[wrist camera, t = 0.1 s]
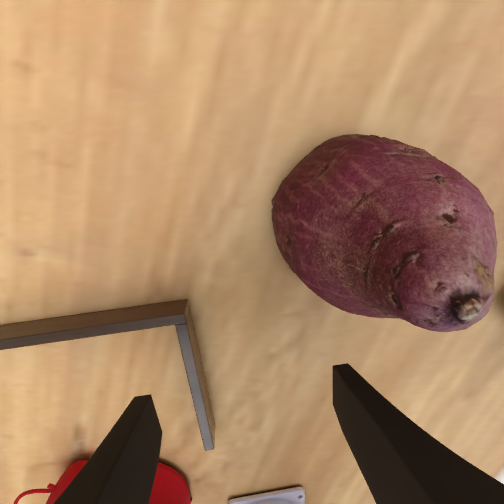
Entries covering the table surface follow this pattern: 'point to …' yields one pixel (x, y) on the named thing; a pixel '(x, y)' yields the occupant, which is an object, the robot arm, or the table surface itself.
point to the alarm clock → (162, 496)
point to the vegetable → (388, 233)
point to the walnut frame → (125, 322)
